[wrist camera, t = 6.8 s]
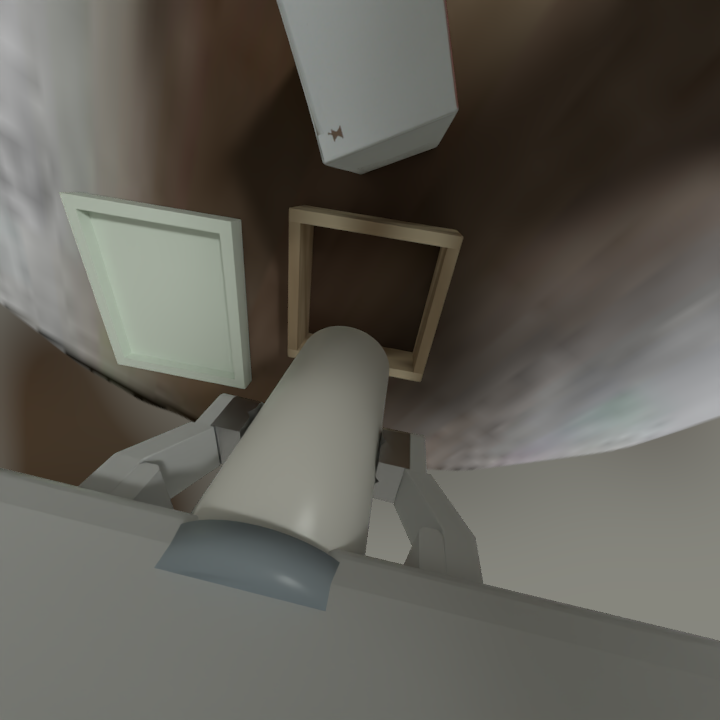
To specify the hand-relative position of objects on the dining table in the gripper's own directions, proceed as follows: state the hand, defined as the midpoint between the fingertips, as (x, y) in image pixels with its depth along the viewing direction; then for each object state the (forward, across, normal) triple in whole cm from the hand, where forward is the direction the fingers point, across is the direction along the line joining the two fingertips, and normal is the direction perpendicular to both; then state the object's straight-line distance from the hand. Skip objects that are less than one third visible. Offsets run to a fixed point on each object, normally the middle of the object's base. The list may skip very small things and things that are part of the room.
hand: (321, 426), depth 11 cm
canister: (+4, 0, 0) cm, 4 cm away
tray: (+16, +18, +4) cm, 25 cm away
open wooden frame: (+17, 0, 0) cm, 17 cm away
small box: (+17, +2, -13) cm, 21 cm away
